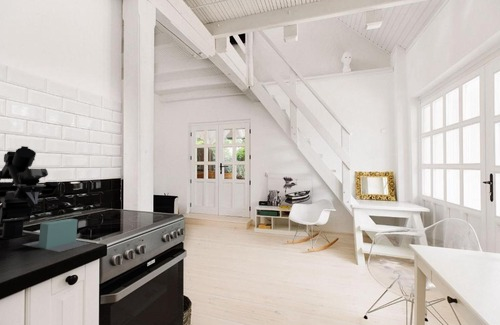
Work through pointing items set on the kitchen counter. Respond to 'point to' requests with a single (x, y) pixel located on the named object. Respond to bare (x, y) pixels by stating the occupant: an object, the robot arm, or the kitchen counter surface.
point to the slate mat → (60, 247)
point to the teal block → (57, 233)
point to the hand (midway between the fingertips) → (35, 205)
